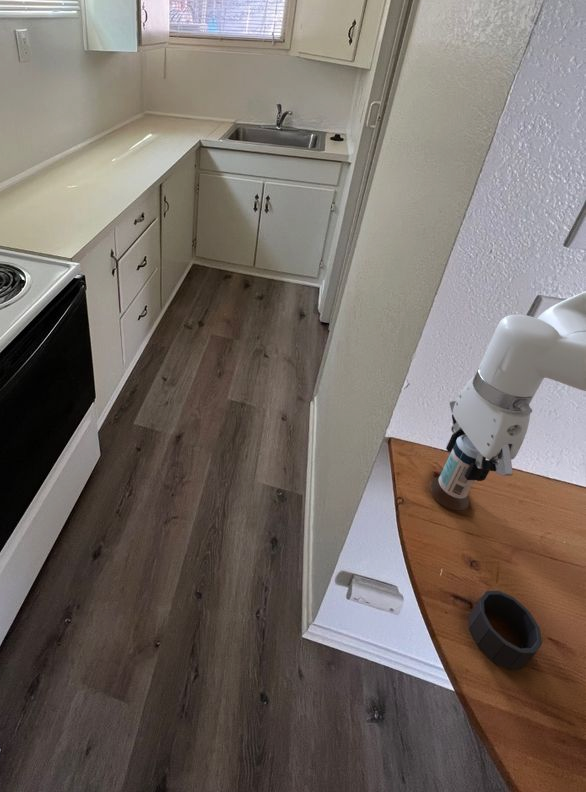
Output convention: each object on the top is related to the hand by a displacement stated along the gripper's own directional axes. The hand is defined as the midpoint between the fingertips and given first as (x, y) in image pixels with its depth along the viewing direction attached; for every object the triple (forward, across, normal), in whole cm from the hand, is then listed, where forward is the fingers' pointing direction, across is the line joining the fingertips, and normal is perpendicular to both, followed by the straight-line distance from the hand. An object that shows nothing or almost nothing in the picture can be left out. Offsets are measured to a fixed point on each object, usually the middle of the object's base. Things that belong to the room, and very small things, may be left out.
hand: (464, 463), depth 76 cm
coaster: (+9, 0, 0) cm, 9 cm away
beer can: (+7, 0, 0) cm, 7 cm away
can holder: (+9, -21, +6) cm, 24 cm away
